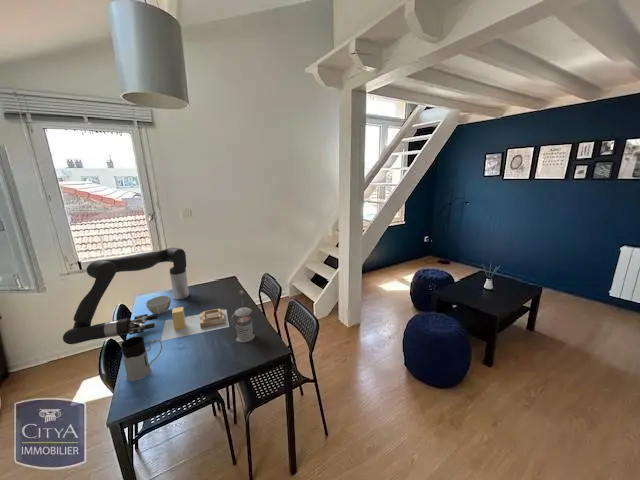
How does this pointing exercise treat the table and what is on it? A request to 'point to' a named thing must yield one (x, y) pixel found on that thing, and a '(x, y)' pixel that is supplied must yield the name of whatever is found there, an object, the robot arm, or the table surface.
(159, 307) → the teacup
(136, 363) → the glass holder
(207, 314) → the beech base slab
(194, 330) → the white rectangular board
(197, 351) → the table surface
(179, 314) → the ochre pillar
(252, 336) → the french press
